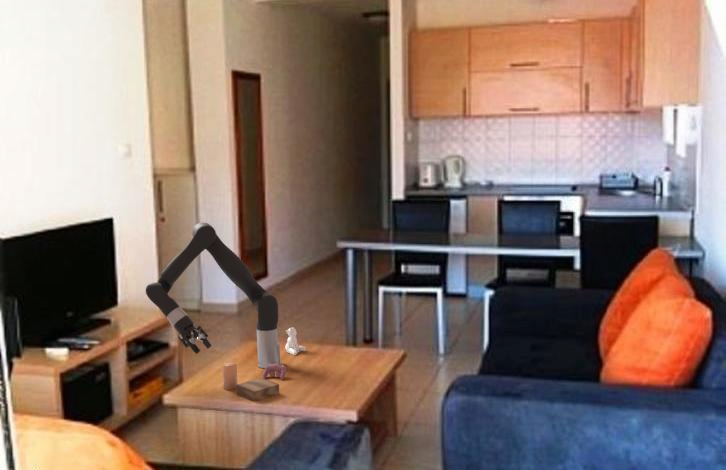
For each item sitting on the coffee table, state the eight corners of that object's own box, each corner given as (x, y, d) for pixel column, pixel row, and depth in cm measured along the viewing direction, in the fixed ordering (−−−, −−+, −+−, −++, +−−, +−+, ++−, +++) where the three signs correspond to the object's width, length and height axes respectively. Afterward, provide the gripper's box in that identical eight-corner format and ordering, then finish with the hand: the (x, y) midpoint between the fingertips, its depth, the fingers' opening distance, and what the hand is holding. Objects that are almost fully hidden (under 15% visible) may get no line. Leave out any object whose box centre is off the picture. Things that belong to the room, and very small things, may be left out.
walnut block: (261, 387, 311) (261, 377, 310) (279, 393, 302) (278, 384, 302) (237, 394, 303) (237, 384, 302) (254, 401, 294) (254, 391, 294)
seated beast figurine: (294, 356, 354) (294, 331, 352) (280, 353, 358) (279, 329, 357) (306, 350, 362) (305, 326, 360) (291, 348, 366) (291, 324, 365)
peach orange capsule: (234, 384, 315) (233, 361, 314) (240, 388, 310) (238, 364, 309) (221, 387, 312) (220, 364, 310) (226, 391, 307) (225, 367, 306)
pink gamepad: (286, 381, 322) (289, 365, 324) (282, 379, 318) (284, 363, 320) (265, 379, 325) (268, 363, 327) (261, 377, 321) (263, 361, 323)
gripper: (175, 318, 308) (200, 348, 305) (194, 311, 321) (218, 340, 318) (164, 330, 310) (189, 360, 308) (184, 322, 324) (208, 351, 321)
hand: (204, 349), depth 313 cm, fingers open, 8 cm apart
